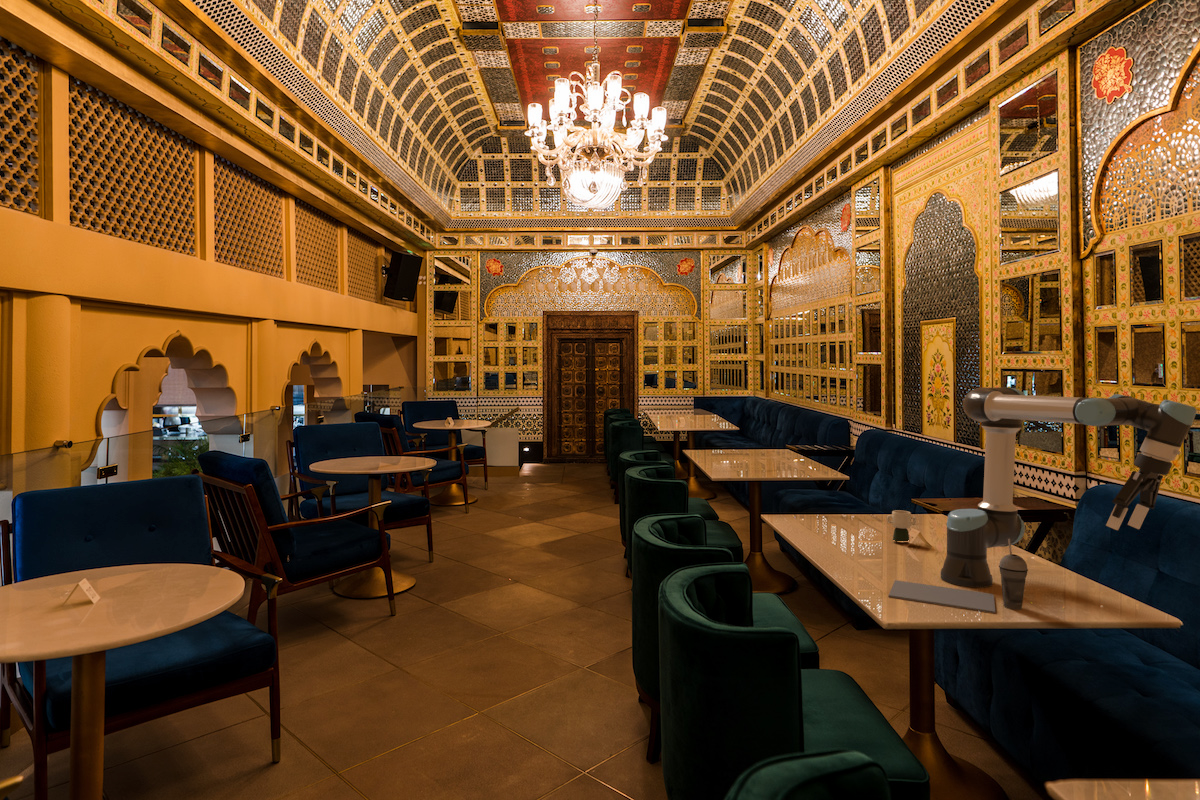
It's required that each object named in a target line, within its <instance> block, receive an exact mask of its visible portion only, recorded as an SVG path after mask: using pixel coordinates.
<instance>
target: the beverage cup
mask: <svg viewBox="0 0 1200 800" xmlns="http://www.w3.org/2000/svg"><path fill="white" fill-rule="evenodd" d="M1008 543H1009V546H1008V549H1009V554H1006V555H1004V556H1003V557H1002V558H1001V559H1000V561H999V565H998V568H999V574H1000V578H1001V579H1000V581H1001V591H1002V592H1001V594H1002V602H1003V607H1004V608H1006V607H1007V608H1006V609H1008V608H1009V610H1014V611H1016V610H1017V611H1021V610H1023V602H1024V596H1025V595H1024V594H1025V588H1026V587H1025V586H1026V580H1027V579H1026V578H1027V576H1028V571H1029V568H1028V565H1027V562H1026V561H1025V559H1024V558H1022V556H1020V555H1018V554H1014V553H1012V552H1013V551H1012V546H1011V543H1010V539H1008Z"/></svg>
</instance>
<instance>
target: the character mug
mask: <svg viewBox="0 0 1200 800" xmlns="http://www.w3.org/2000/svg"><path fill="white" fill-rule="evenodd" d="M890 519H891V520H890ZM912 520H913V522H912ZM886 522H887V523H888V524H891V526H892V527H894V529H893V535H892V541H893V540H895V541H908V540H909V541H910V534H909V530H908V529H909V528H910V529H911V526H916V525H917V518H916V516H912V512H910V511H907V510H900V509H899V510H898V509H897V510H896V509H895V510H892V511H891V514H888V515H887V516H886ZM895 541H894V542H895Z"/></svg>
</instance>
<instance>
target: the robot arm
mask: <svg viewBox="0 0 1200 800" xmlns="http://www.w3.org/2000/svg"><path fill="white" fill-rule="evenodd" d="M962 408H963V411H964V413H965V415H966V416H967V417H968V418H969V419H971V420H973V421H975V422H980V423H981V424H980V426H981V428H982V429H983V430H984V431H985V450H984V451H985V453H984V468H983V469H984V470H983V471H984V473H983V474H984V475H983V476H984V477H983V492H982V493H983V494H982V495H983V496H982V497H983V498H982V501H980V502H979V503H978V504H977V508H960V509H953V510H951V511H949V513H948V514H947V518H946V519H947V521H946V556H945V559H944V562H943V565H942V568H941V570H940V580H943V581H944V582H946V583H950V584H953V585H956V586H961V587H962V586H963V587H967V588H968V587H969V588H988V587H991V586H992V585H993V580H994V579H993V575H992V574H991V570H990V566H989V564H988V556H987V555H988V553H987V551H988V549H990V548H999V547H1001V548H1004V547H1009V543H1008V539H1010V543H1011V545H1015V544H1017V543H1018V542H1019V541H1021V540H1022V539H1023V536H1024V535H1025V531H1026V526H1025V522H1024V520H1023V519H1022V517H1021V516H1020V514H1018V508H1017V506H1016V505H1015V504H1014V503H1013V501H1014V479H1015V459H1016V458H1015V457H1016V439H1017V438H1016V437H1017V436H1016V435H1017V432H1019V431H1020V430H1022V425H1023V421H1024V420H1025V421H1034V422H1035V421H1036V422H1049V423H1063V424H1064V423H1065V424H1078V425H1086V426H1090V427H1103V426H1105V427H1106V426H1131V427H1134V428H1138V429H1141V430H1143V431H1147V434H1146V435H1145V437H1144V440H1143V442H1142V443H1141V446H1140V448H1139V451H1140V452H1139V453H1137V455H1136V457H1135V459H1134V461H1133V466H1134V467H1137V468H1139V470H1138V471H1135V470H1132V471H1131V473H1130V475H1129V477H1128V479H1127V480H1126V482H1125V483H1124V485H1123V486H1122V487H1121V488H1120V490H1119V491H1118V492H1117V494H1116V496H1115V497H1114V498H1113V499H1112V501H1111V503H1113V504H1115V505H1114V506H1113V509H1112V511H1111V513H1110V516H1109V518H1108V520H1107V522H1106V524H1105V526H1106V527H1108V528H1111V529H1113V530H1116V531H1119V529H1120V527H1121V525H1122V523H1123V521H1124V518H1125V517H1126V515H1127V512H1128V510H1129V508H1128V507H1129V506H1130V504H1131V503H1132V502H1133V501H1134V500H1135V499H1136V498H1137V496H1138V495H1139V503H1137V504H1136V505H1135V508H1134V510H1133V512H1132V514H1131V516H1130V517H1129V521H1128V523H1127V526H1130V527H1132V528H1134V529H1137V530H1140V529H1141V527H1142V525H1143V522H1144V520H1145V518H1146V516H1147V514H1148V513H1149V510H1150V509H1152V510H1154V509H1155V507H1156V501H1157V497H1158V494H1159V491H1160V487H1161V483H1162V480H1163V478H1164V476H1167V475H1168V474H1169V473H1170V471H1171V468H1172V467H1173V463H1172V461H1173V462H1174V461H1175V459H1176V457H1178V456H1179V455H1180V454H1181V451H1180V449H1181V447H1182V446H1183V443H1184V441H1185V439H1186V437H1187V435H1188V433H1189V431H1190V430H1191V427H1192V426H1193V424H1194V423H1193V422H1194V420H1195V417H1196V414H1197V413H1198V412H1197V410H1198V409H1197V408H1196V407H1195V406H1193V405H1189V404H1185V403H1181V402H1179V401H1174V400H1171V399H1170V400H1169V399H1163V400H1162V401H1161V403H1159V404H1156V403H1152V402H1149V401H1147V400H1146V401H1145V400H1142V399H1139V398H1135V397H1132V396H1130V395H1123V394H1119V393H1114V394H1112V395H1111V396H1109V397H1103V398H1102V397H1078V396H1077V397H1075V396H1052V395H1049V396H1048V395H1047V396H1046V395H1027V394H1025V392H1023V391H1022V390H1020V389H1018V388H1014V387H1007V386H1005V387H1004V386H1002V387H983V386H982V387H977V388H974V389H972V390H971V391H969V392H968V393H966V395H965V396H964V399H963V402H962ZM1177 455H1178V456H1177Z"/></svg>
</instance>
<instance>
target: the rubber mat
mask: <svg viewBox="0 0 1200 800" xmlns="http://www.w3.org/2000/svg"><path fill="white" fill-rule="evenodd" d="M888 598H893V599H900V600H904V601H905V600H906V601H912V602H916V603H917V602H918V603H919V602H920V603H925V604H930V605H931V604H932V605H937V606H944V607H951V608H956V607H957V608H958V609H962V608H967V609H966V610H969V609H973V610H972V611H975V610H979V611H978V612H982V611H985V612H984V613H988V612H991V613H990V614H996V605H995V604H996V603H995V593H987V592H980V591H975V590H974V591H973V590H969V589H960V588H953V587H946V586H940V585H932V584H925V583H918V582H911V581H904V580H897V579H894V582H893V583H892V586H891V588H890V591H889V593H888Z"/></svg>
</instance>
